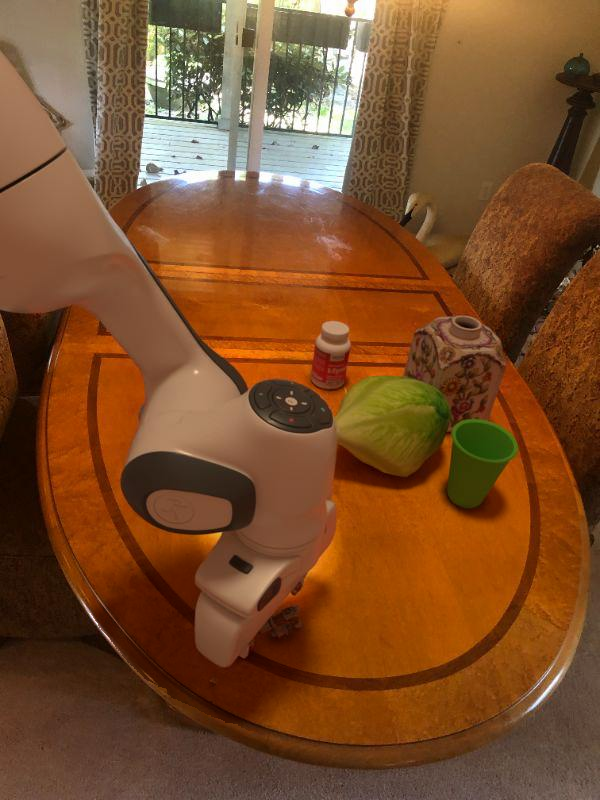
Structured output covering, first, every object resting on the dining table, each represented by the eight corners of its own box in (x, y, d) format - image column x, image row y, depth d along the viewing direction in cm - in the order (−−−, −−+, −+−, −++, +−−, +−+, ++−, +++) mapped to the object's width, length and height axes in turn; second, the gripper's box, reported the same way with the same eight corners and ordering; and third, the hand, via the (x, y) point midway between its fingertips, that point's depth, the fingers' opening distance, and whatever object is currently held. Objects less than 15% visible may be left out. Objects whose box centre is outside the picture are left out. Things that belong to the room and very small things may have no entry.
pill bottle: (325, 394, 108) (333, 340, 101) (303, 377, 111) (310, 323, 105) (351, 384, 111) (361, 331, 104) (329, 367, 115) (337, 315, 108)
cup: (506, 500, 91) (531, 443, 84) (472, 529, 85) (495, 471, 79) (456, 466, 96) (476, 410, 89) (421, 492, 90) (438, 434, 84)
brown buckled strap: (311, 628, 69) (299, 610, 66) (247, 661, 69) (232, 644, 66) (306, 615, 71) (294, 596, 67) (243, 647, 70) (228, 630, 67)
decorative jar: (485, 432, 103) (518, 340, 93) (421, 436, 101) (447, 342, 90) (456, 390, 113) (483, 302, 102) (397, 393, 110) (418, 303, 99)
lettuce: (300, 450, 95) (312, 366, 91) (405, 440, 105) (420, 363, 100) (349, 495, 83) (365, 401, 79) (462, 480, 93) (483, 394, 88)
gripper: (308, 461, 68) (297, 544, 76) (181, 586, 53) (184, 672, 61) (358, 487, 65) (341, 570, 73) (239, 625, 51) (234, 709, 59)
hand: (269, 618), depth 67 cm, fingers open, 8 cm apart
